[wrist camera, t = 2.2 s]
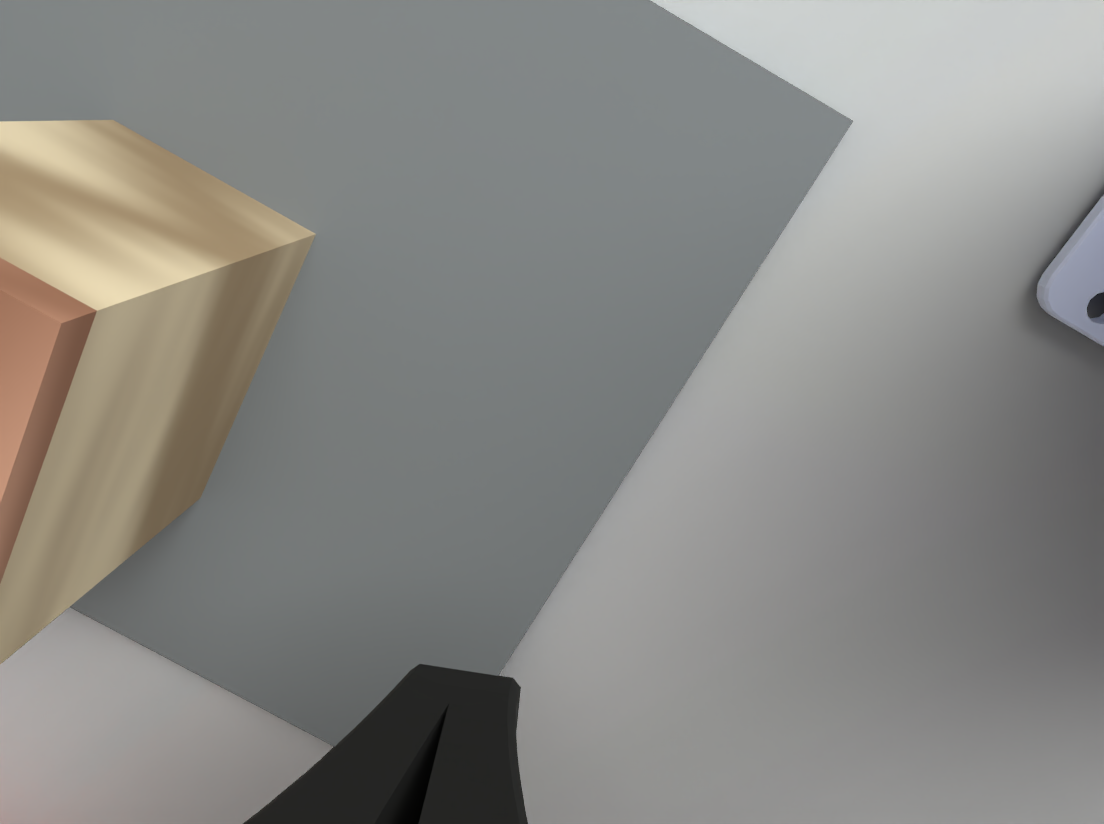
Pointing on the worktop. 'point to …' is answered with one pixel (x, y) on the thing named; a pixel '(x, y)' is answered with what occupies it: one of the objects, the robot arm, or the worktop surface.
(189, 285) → the maple block
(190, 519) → the slate mat
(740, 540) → the worktop surface
